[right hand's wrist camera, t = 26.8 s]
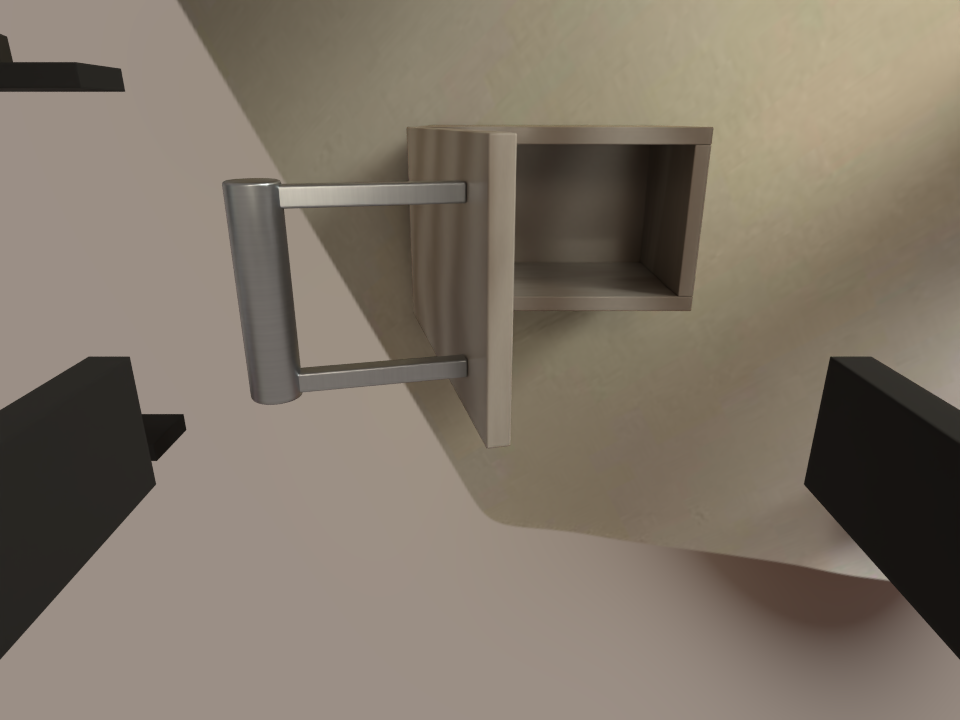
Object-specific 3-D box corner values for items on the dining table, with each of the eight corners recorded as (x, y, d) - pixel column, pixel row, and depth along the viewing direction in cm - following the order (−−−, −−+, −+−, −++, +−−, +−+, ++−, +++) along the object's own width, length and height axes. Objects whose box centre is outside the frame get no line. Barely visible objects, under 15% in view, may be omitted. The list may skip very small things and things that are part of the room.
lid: (517, 132, 18) (199, 133, 16) (510, 446, 22) (249, 477, 20) (423, 126, 34) (252, 127, 32) (428, 312, 37) (275, 322, 35)
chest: (662, 125, 44) (714, 127, 34) (648, 271, 47) (691, 311, 37) (430, 125, 44) (415, 126, 34) (433, 271, 47) (421, 310, 37)
